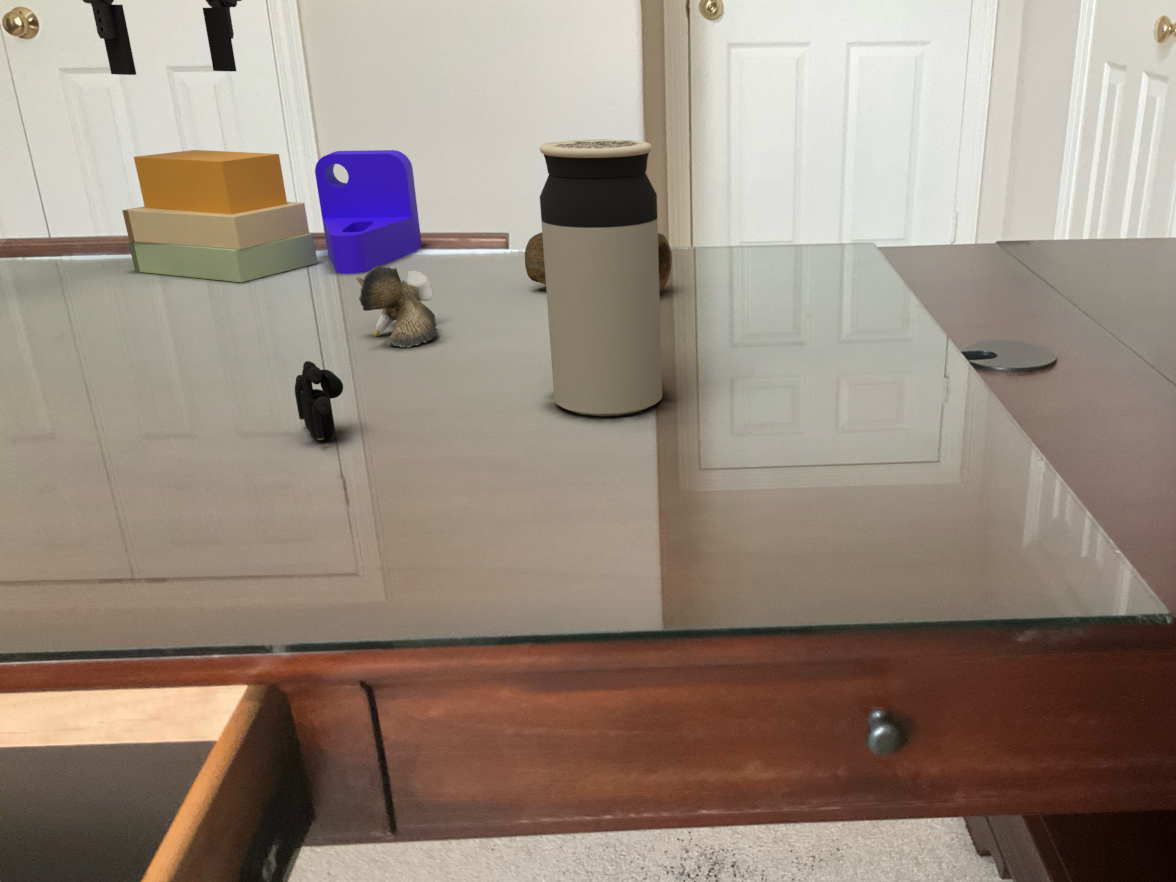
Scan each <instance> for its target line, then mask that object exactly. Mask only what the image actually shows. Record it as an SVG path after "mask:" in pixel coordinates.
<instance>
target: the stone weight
mask: <svg viewBox="0 0 1176 882" xmlns="http://www.w3.org/2000/svg"><path fill="white" fill-rule="evenodd" d="M658 258H659V292H660V291H662V290H663V289H664V288H665V287H666V285H667V283H668V281H669V278H670V275H671V271H672V263H673V260H672V259H673V257H672V250H671V247H670V244H669V241H668V239H667V237H666V235H664V234H662V233H661V232H660V233H659V232H658ZM524 266H525V271H526V275H527V276H528V278H529V279H530V280H531V281H533V282H535V283H540V284H542V285H545V286H546V277H545V264H544V250H543V236H542V231H541V232H539V233H536V234H534V235H533V236H531V237H530V239H529V240H528V241H527V244H526V246H525V248H524Z"/></svg>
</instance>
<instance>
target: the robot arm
mask: <svg viewBox="0 0 1176 882" xmlns="http://www.w3.org/2000/svg"><path fill="white" fill-rule="evenodd" d="M114 1H115V0H82V2H83V3H85V4H89V5H91V9H92V14H93V18H94V22H95V27H96V33H97V35H98V37H99V38H100V40H102V39H103V41H104V45H105V51H106V55H107V60H108V65H109V69H110V74H111V75H124V76H136V75H137V70H136V66H135V60H134V56H133V51H132V47H131V46H132V45H131V40H130V35H129V31H128V25H127V21H126V15H125V11H124V5H123V4H113V3H114ZM242 1H243V0H205V2H206V3H207V5H208V6H209V7H202V13H203V18H204V24H205V30H206V37H207V41H208V47H209V52H210V53H209V54H210V57H211V58H210V59H211V65H212V70H213V72H237V65H236V60H235V53H234V47H233V41H232V39H234V36H235V35H234V28H233V27H234V26H233V21H232V15H231V14H232V13H231V8H236V7H237V5H238V2H242Z"/></svg>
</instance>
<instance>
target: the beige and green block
mask: <svg viewBox="0 0 1176 882" xmlns="http://www.w3.org/2000/svg"><path fill="white" fill-rule="evenodd" d="M122 216H123V220H124V224H125V228H126V233H127V237H128V247H129V251H130V255H131V259H132V263H133V268H134V271H135V272H136V273H146V274H156V275H164V276H174V277H184V278H185V277H186V278H195V279H204V280H214V281H222V282H223V281H224V282H233V283H246V282H249V281H252V280H256V279H261V278H265V277H269V276H273V275H277V274H280V273H284V272H289V271H293V270H297V269H300V268H304V267H305V268H306V267H308V266H309V267H310V266H312V265H316V264H318V259H317V258H318V257H317V252H316V245H315V240H314V234H313V233H311V232H310V230H309V223H308V217H307V211H306V204H305V202H298V201H297V202H296V201H287V204H284V205H279V206H273V207H268V208H262V209H257V210H251V211H246V212H240V213H234V214H223V213H209V212H196V211H182V210H169V209H156V208H145V206H139V207H133V208H127V209H122Z"/></svg>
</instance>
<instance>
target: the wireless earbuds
mask: <svg viewBox="0 0 1176 882" xmlns="http://www.w3.org/2000/svg"><path fill="white" fill-rule="evenodd" d="M313 385H316V386H317V385H320V387H321V389H318V388H314V387H313ZM343 391H344V384H343V382H342V380H341V379H340V378H339V376H337V375H336V374H335V373H334V372H333V371H331V370H329V369H321V368H319V366H317V365H316V364H315V363H314V362H312V361H309V360H306V361H305V362H303V365H302V373H301V374H298V375H297V376H296V377H295V383H294V396H295V402H296V407H297V412H298V419H299V420H300V421H304V425H305V428H306V429H307V431H308V432H309V433H310V434H311V435H312V436H313V438H315V440H318V441H321V442H325V441H329V440H330V439H332V438H333V436H334V435H335V431H336V429H335V422H334V415H333V409H332V403H331V399H336V398H338V397H340V396H341V395H342V394H343Z"/></svg>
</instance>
